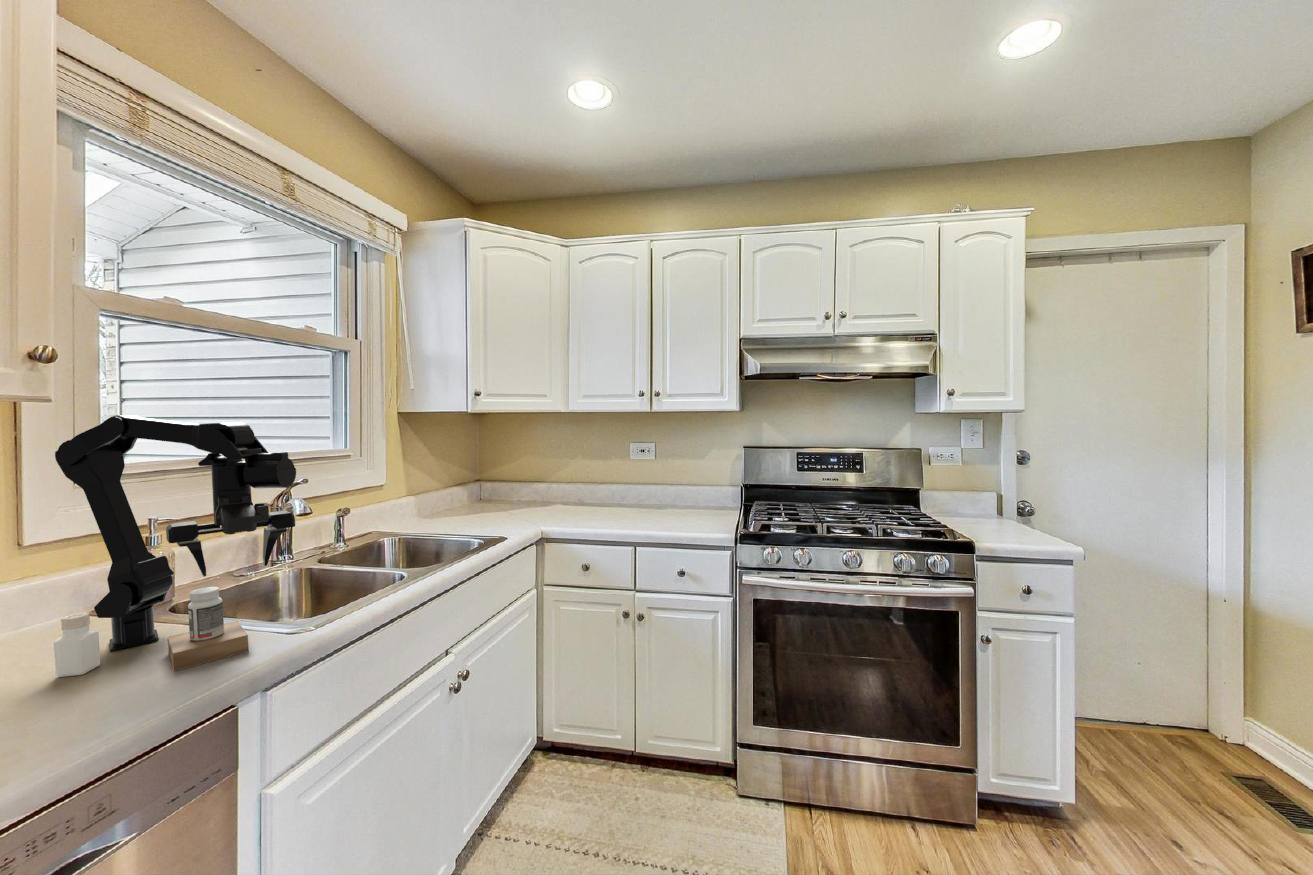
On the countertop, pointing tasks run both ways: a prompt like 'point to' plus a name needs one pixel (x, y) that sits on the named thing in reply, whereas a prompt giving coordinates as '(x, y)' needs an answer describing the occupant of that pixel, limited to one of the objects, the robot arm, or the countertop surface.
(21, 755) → the countertop surface
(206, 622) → the pill bottle
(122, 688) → the countertop surface
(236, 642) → the brown square block
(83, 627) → the pepper shaker
